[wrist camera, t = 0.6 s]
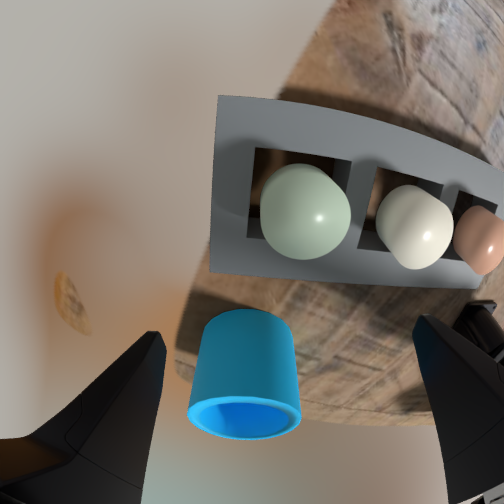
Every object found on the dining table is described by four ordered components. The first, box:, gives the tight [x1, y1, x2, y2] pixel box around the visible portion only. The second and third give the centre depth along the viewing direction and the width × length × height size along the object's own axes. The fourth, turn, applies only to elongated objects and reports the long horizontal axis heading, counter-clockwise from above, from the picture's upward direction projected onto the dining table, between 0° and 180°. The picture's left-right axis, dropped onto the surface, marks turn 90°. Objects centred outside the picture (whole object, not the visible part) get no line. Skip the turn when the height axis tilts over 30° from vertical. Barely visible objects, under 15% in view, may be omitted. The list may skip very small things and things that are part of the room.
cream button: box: [376, 185, 453, 269], centre depth 13 cm, size 4×4×2 cm
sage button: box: [260, 163, 351, 260], centre depth 13 cm, size 4×4×2 cm
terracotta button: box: [453, 205, 504, 275], centre depth 13 cm, size 4×4×2 cm
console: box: [210, 95, 504, 289], centre depth 15 cm, size 22×10×3 cm, turn 85°
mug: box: [187, 309, 301, 440], centre depth 21 cm, size 12×8×8 cm
